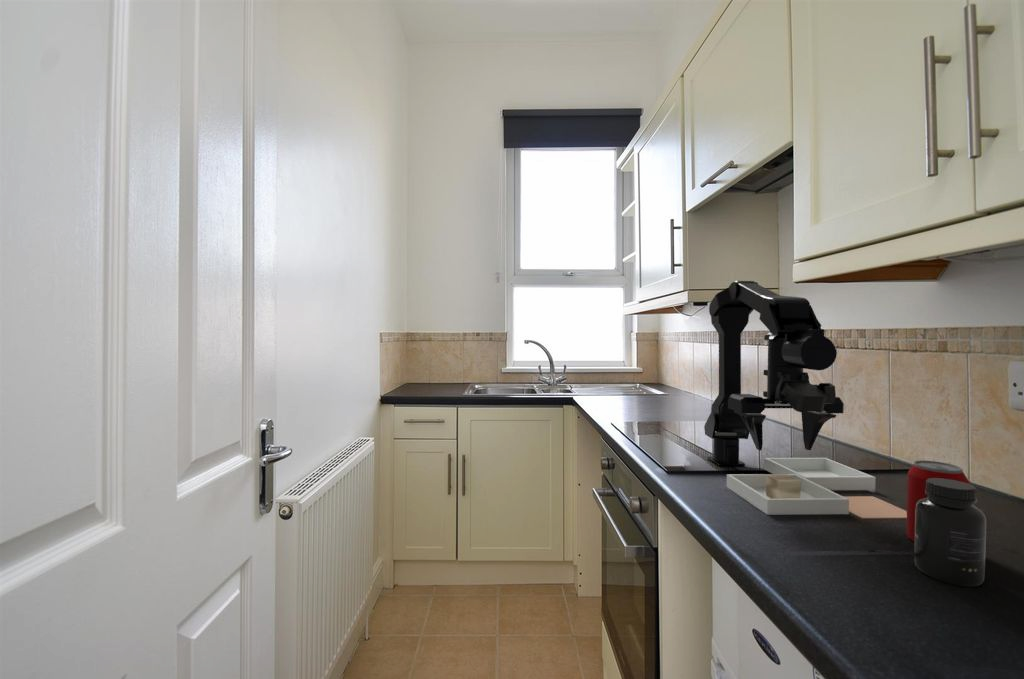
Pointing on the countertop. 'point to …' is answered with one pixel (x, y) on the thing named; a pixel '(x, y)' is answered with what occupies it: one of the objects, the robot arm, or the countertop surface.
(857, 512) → the tile
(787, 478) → the beech cube
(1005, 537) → the countertop surface
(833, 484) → the tray
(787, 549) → the countertop surface
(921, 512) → the supplement bottle
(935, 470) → the beverage can
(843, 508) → the tray
